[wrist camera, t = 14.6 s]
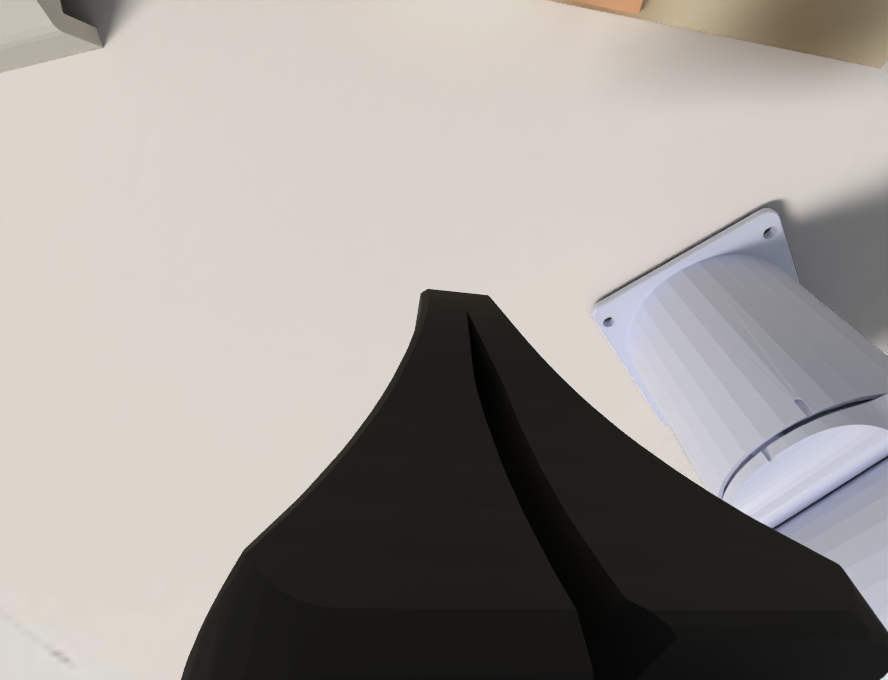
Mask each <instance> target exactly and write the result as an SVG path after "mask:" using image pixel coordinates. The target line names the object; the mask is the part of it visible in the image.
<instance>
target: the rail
mask: <svg viewBox="0 0 888 680" xmlns="http://www.w3.org/2000/svg"><path fill="white" fill-rule="evenodd" d="M549 1H554V2H559V3H564V4H569V5H574V6H578V7H583V8H588V9H593V10H598V11H603V12H608V13H613V14H618V15H622V16H627V17H632V18H637V19H642V20H647V21H652V22H657V23H661V24H666V25H671V26H676V27H681V28H686V29H691V30H696V31H701V32H705V33H710V34H715V35H720V36H725V37H730V38H735V39H740V40H745V41H749V42H754V43H759V44H764V45H769V46H774V47H779V48H784V49H789V50H793V51H798V52H803V53H808V54H813V55H818V56H823V57H828V58H832V59H837V60H842V61H847V62H852V63H857V64H862V65H867V66H872V67H876V68H882V66H883V64H884V63H885V61H886V59H887V58H888V0H549Z"/></svg>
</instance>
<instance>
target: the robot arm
mask: <svg viewBox="0 0 888 680" xmlns="http://www.w3.org/2000/svg"><path fill="white" fill-rule="evenodd" d="M770 227H771V229H770V230H769V231H768V232H767V233H766V234H763V233H764V232H765V230H766V229H768V228H770ZM591 316H592V318H593V320H594V321H595V323H596V324H597V326H598V327H599V329H600V330H601V332H602V333H603V335H604V337H605V338H606V340H607V341H608V343H609V344H610V346H611V347H612V349H613V350H614V352H615V353H616V355H617V356H618V358H619V359H620V361H621V362H622V364H623V365H624V367H625V369H626V370H627V372H628V373H629V375H630V376H631V378H632V379H633V381H634V382H635V384H636V385H637V387H638V388H639V390H640V391H641V393H642V394H643V396H644V398H645V399H646V401H647V402H648V404H649V405H650V407H651V408H652V410H653V411H654V413H655V414H656V416H657V417H658V419H659V420H660V422H661V423H662V424H663V425H665V426H669V428H670V430H671V431H672V433H673V435H674V437H675V438H676V440H677V442H678V444H679V445H680V447H681V449H682V451H683V452H684V454H685V456H686V458H687V459H688V461H689V463H690V465H691V466H692V468H693V470H694V472H695V473H696V475H697V477H698V479H699V480H700V482H701V484H702V486H703V487H704V488H702V487H701V486H699V485H698V484H696V483H694V482H693V481H691V480H690V479H688V478H687V477H685V476H684V475H682V474H681V473H679V472H678V471H676V470H675V469H673V468H672V467H670V466H669V465H667V464H666V463H665V462H663V461H662V460H660V459H659V458H658V457H656V456H655V455H653V454H652V453H651V452H649V451H648V450H646V449H645V448H644V447H642V446H641V445H639V444H638V443H637V442H635V441H634V440H633V439H631V438H630V437H629V436H628V435H626V434H625V433H624V432H622V431H621V430H620V429H619V428H617V427H616V426H615V425H614V424H613V423H611V422H610V421H609V420H608V419H607V418H605V417H604V416H603V415H602V414H601V413H599V412H598V411H597V410H596V409H595V408H593V407H592V406H591V405H590V404H589V403H588V402H587V401H586V400H584V399H583V398H582V397H581V396H580V395H579V394H578V393H577V392H576V391H575V390H574V389H573V388H572V387H571V386H570V385H569V384H568V383H567V382H566V381H565V380H563V379H562V378H561V377H560V376H559V375H558V374H557V373H556V372H555V371H554V370H553V369H552V367H551V366H550V365H549V364H548V363H547V362H546V361H545V360H544V359H543V358H542V357H541V356H540V355H539V354H538V353H537V351H536V350H535V349H534V348H533V347H532V346H531V345H530V344H529V343H528V341H527V340H526V339H525V338H524V337H523V336H522V334H521V333H520V332H519V331H518V330H517V329H516V327H515V326H514V325H513V324H512V323H511V321H510V320H509V319H508V318H507V317H506V316H505V314H504V313H503V312H502V311H501V310H500V308H499V307H498V306H497V305H496V304H495V302H494V301H493V300H492V299H491V298H490V297H489V296H488V295H480V294H470V293H461V292H451V291H442V290H433V289H427V290H425V291H424V292H422V293H421V296H420V302H419V308H418V314H417V320H416V326H415V331H414V334H413V337H412V339H411V342H410V344H409V347H408V349H407V351H406V353H405V355H404V357H403V359H402V361H401V363H400V365H399V367H398V369H397V371H396V373H395V375H394V377H393V378H392V380H391V382H390V383H389V385H388V387H387V389H386V390H385V392H384V393H383V395H382V397H381V398H380V400H379V401H378V403H377V404H376V406H375V407H374V409H373V410H372V412H371V413H370V414H369V416H368V417H367V419H366V420H365V421H364V423H363V424H362V425H361V427H360V428H359V429H358V431H357V432H356V433H355V435H354V436H353V437H352V439H351V440H350V441H349V442H348V444H347V445H346V446H345V447H344V449H343V450H342V451H341V452H340V453H339V454H338V456H337V457H336V458H335V459H334V460H333V461H332V462H331V463H330V464H329V466H328V467H327V468H326V469H325V470H324V471H323V472H322V473H321V474H320V476H319V477H318V478H317V479H316V480H315V481H314V482H313V483H312V484H311V485H310V487H309V488H308V489H307V490H306V491H305V492H304V493H303V494H302V495H301V496H300V497H299V498H298V499H297V500H296V501H295V502H294V503H293V504H292V505H291V506H290V507H289V508H288V509H287V510H286V511H285V512H284V513H282V514H281V515H280V516H279V517H278V518H277V519H276V520H275V521H274V522H273V523H272V524H271V525H270V526H269V527H268V528H267V529H266V530H264V531H263V532H262V533H261V534H260V535H259V536H258V537H257V538H256V539H255V540H254V541H253V542H252V543H251V544H250V545H249V546H247V547H246V548H245V549H244V551H243V552H242V554H241V556H240V557H239V559H238V561H237V562H236V564H235V566H234V567H233V569H232V571H231V572H230V574H229V576H228V578H227V579H226V581H225V583H224V584H223V586H222V588H221V590H220V592H219V593H218V595H217V597H216V599H215V601H214V603H213V605H212V606H211V608H210V610H209V612H208V614H207V616H206V618H205V620H204V622H203V625H202V627H201V629H200V631H199V633H198V635H197V638H196V640H195V643H194V645H193V648H192V650H191V652H190V655H189V657H188V660H187V663H186V665H185V668H184V672H183V675H182V678H181V680H888V356H887V355H886V354H884V353H883V352H882V351H881V350H880V349H878V348H877V347H876V346H875V345H873V344H872V343H871V342H870V341H869V340H867V339H866V338H865V337H864V336H862V335H861V334H860V333H859V332H858V331H856V330H855V329H854V328H853V327H851V326H850V325H849V324H848V323H847V322H845V321H844V320H843V319H842V318H840V317H839V316H838V315H837V314H836V313H834V312H833V311H832V310H831V309H829V308H828V307H827V306H826V305H825V304H823V303H822V302H821V301H820V300H818V299H817V298H816V297H815V296H814V295H812V294H811V293H810V292H809V291H807V290H806V289H805V288H804V287H803V286H801V285H800V283H799V279H798V276H797V273H796V270H795V266H794V263H793V260H792V256H791V253H790V250H789V246H788V243H787V240H786V236H785V233H784V230H783V226H782V223H781V220H780V216H779V214H778V213H777V212H776V211H774V210H773V209H770V208H763V209H761V210H758V211H757V212H755V213H753V214H751V215H750V216H748V217H746V218H744V219H743V220H741V221H739V222H737V223H736V224H734V225H732V226H730V227H729V228H727V229H725V230H723V231H722V232H720V233H718V234H716V235H715V236H713V237H711V238H710V239H708V240H706V241H704V242H703V243H701V244H699V245H697V246H696V247H694V248H692V249H690V250H689V251H687V252H685V253H683V254H682V255H680V256H678V257H676V258H675V259H673V260H671V261H669V262H668V263H666V264H664V265H662V266H661V267H659V268H657V269H655V270H654V271H652V272H650V273H648V274H647V275H645V276H643V277H641V278H640V279H638V280H636V281H634V282H633V283H631V284H629V285H627V286H626V287H624V288H622V289H620V290H619V291H617V292H615V293H613V294H612V295H610V296H608V297H606V298H605V299H603V300H601V301H599V302H598V303H596V304H595V305H594V306H593V307H592V309H591ZM609 317H612V318H611V319H610V320H609V321H607V322H604V320H605V319H606V318H609Z"/></svg>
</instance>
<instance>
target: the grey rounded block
mask: <svg viewBox="0 0 888 680" xmlns="http://www.w3.org/2000/svg"><path fill="white" fill-rule="evenodd" d="M99 48H103V45H102V42H101V39H100V37H99V34H98V31H97V29H96V27H94V26H91V25H89V24H87V23H85V22H82V21H80V20H78V19H75V18H73V17H71V16H68V15H66V14H64V13H63V11H62V6H61V2H60V0H0V73H1V72H5V71H9V70H13V69H18V68H22V67H26V66H30V65H34V64H38V63H42V62H46V61H50V60H54V59H58V58H63V57H67V56H71V55H75V54H79V53H83V52H87V51H91V50H95V49H99Z"/></svg>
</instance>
